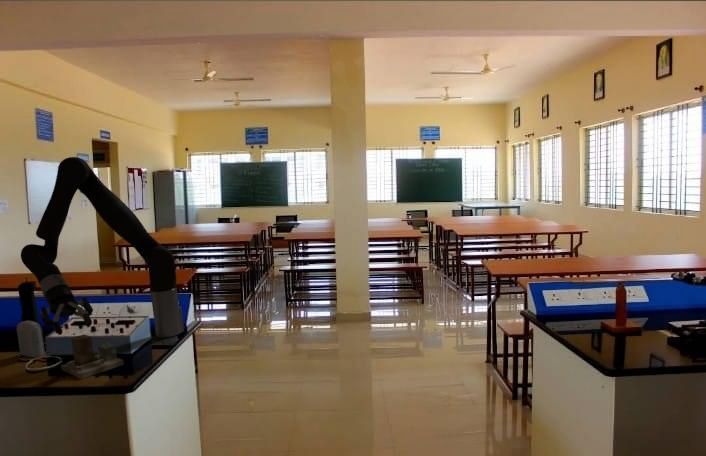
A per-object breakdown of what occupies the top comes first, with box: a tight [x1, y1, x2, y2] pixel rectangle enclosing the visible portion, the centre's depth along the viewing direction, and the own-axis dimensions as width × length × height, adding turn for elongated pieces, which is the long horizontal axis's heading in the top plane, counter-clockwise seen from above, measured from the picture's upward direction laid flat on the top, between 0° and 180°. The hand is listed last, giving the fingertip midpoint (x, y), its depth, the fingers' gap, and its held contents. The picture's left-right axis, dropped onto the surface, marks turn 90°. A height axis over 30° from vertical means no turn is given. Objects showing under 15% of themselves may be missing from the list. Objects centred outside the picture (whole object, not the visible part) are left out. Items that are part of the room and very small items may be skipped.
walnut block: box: [70, 334, 95, 366], centre depth 159 cm, size 4×5×9 cm
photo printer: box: [16, 321, 46, 358], centre depth 180 cm, size 10×4×12 cm, turn 60°
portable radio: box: [17, 277, 44, 336], centre depth 202 cm, size 8×6×25 cm
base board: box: [61, 342, 125, 380], centre depth 161 cm, size 13×15×6 cm
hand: (75, 329), depth 161 cm, fingers open, 8 cm apart
